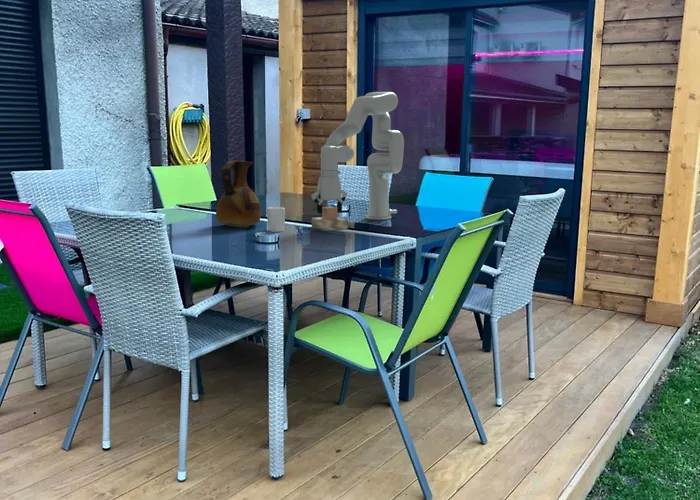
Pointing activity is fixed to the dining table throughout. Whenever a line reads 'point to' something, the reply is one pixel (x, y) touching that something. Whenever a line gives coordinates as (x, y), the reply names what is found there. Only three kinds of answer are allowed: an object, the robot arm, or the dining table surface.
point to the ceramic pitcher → (237, 198)
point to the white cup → (276, 218)
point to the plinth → (329, 224)
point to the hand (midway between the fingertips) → (329, 212)
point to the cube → (329, 213)
